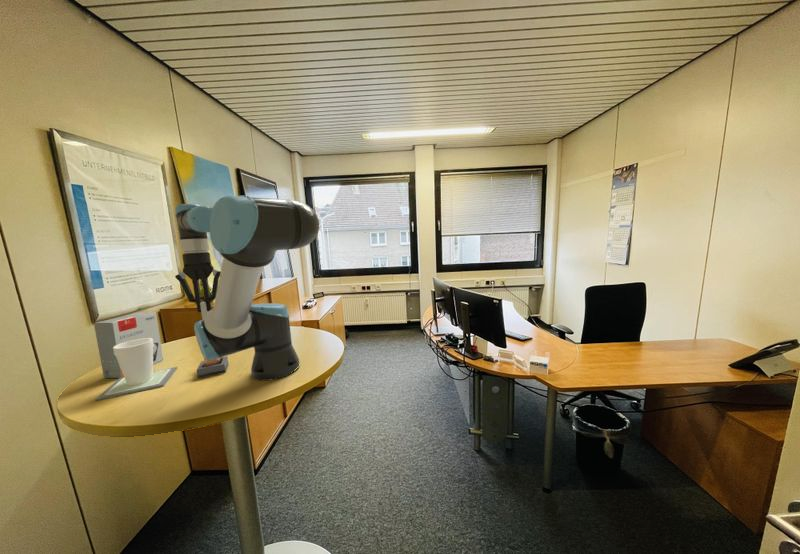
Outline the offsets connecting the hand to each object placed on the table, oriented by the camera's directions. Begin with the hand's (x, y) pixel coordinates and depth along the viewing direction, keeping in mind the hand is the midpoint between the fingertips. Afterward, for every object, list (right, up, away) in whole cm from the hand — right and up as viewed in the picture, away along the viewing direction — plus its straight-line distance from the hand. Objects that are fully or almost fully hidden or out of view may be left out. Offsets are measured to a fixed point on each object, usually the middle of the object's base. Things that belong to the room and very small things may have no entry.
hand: (206, 320), depth 97 cm
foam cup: (-19, -19, -4) cm, 28 cm away
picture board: (-19, -20, -4) cm, 28 cm away
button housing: (+1, -18, +2) cm, 18 cm away
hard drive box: (-32, -19, +8) cm, 39 cm away
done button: (+1, -16, +2) cm, 16 cm away
